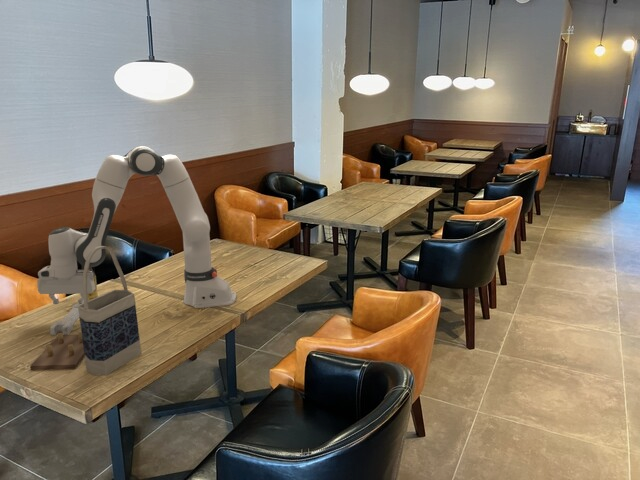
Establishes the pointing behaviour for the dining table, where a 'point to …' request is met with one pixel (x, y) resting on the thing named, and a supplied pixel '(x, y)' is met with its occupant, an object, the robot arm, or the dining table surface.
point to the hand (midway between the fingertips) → (68, 303)
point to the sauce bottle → (94, 293)
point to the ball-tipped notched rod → (66, 322)
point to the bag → (108, 325)
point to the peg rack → (61, 353)
